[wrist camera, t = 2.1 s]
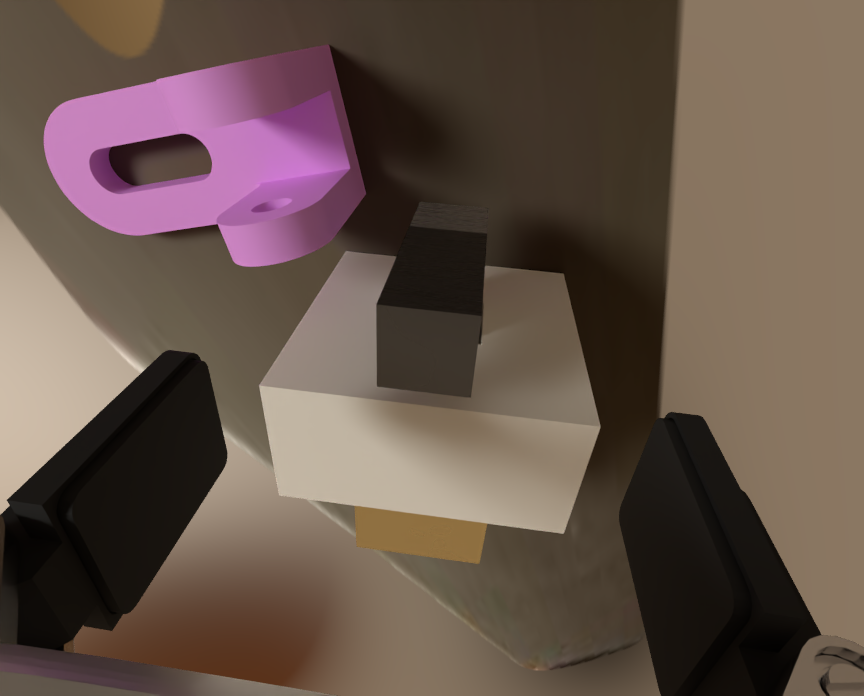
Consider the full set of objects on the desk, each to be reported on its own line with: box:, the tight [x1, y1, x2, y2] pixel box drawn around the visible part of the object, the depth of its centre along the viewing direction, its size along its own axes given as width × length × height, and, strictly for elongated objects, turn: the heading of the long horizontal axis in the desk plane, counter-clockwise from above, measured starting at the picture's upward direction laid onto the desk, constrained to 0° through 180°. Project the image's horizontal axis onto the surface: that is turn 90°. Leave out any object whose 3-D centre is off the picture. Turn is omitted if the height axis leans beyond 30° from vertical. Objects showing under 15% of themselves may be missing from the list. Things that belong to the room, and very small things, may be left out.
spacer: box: [355, 506, 487, 564], centre depth 21 cm, size 3×5×4 cm
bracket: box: [44, 45, 366, 267], centre depth 18 cm, size 13×6×7 cm, turn 100°
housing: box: [259, 251, 601, 534], centre depth 20 cm, size 5×10×10 cm, turn 87°
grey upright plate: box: [376, 202, 488, 398], centre depth 18 cm, size 13×2×7 cm, turn 177°
